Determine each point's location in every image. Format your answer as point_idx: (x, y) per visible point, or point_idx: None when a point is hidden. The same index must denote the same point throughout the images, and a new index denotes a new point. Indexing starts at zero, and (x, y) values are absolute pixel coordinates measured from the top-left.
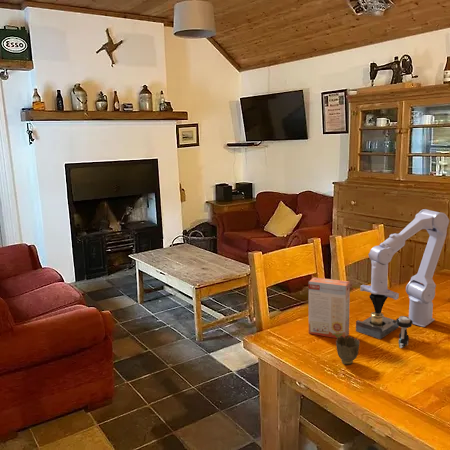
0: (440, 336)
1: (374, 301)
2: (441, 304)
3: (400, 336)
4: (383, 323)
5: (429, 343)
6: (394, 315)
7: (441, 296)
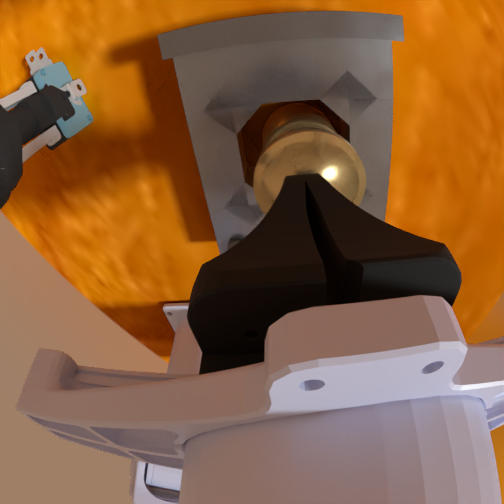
0: (80, 280)
1: (346, 232)
2: None
3: (40, 92)
4: None
5: (43, 205)
6: None
7: None
